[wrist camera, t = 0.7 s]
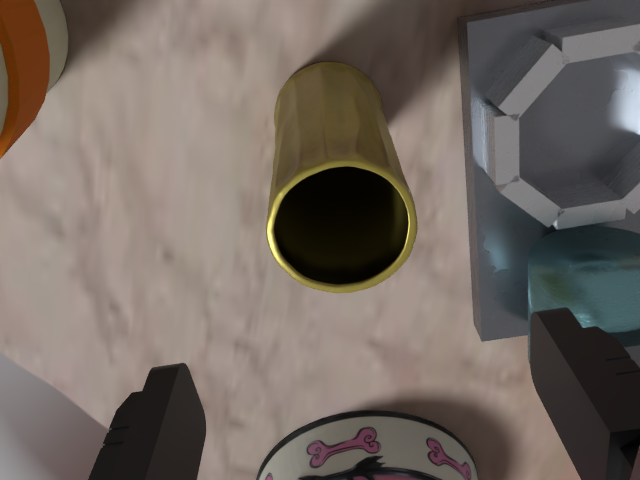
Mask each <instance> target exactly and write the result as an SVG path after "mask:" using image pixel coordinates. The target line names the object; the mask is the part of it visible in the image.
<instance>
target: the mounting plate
mask: <svg viewBox="0 0 640 480" xmlns="http://www.w3.org/2000/svg"><path fill="white" fill-rule="evenodd" d="M458 36H459V55H460V74H461V93H462V111H463V130H464V149H465V168H466V186H467V205H468V224H469V242H470V261H471V280H472V299H473V317H474V325H475V327H476V330H477V332H478V334H479V336H480V339H481V341H482V342H483V341H489V340H496V339H503V338H510V337H517V336H523V335H528V360H529V363H530V318H531V314H532V312H536V311H543V310H550V309H556V308H563V307H567V308H569V309H570V311H571V312H572V313H573V315H574V316H575V317H576V319H577V320H578V322H579V323H580V324H581V326H582V327H583V328H586V327H593V326H597V327H599V328H600V329H602V330H604V331H605V332H607V333H608V334H610V335H612V336H613V337H615V338H616V339H618V341H619V342H620V343H621V344H622V346H623V347H624V348H625V350H626V351H627V352H628V353H629V355H630V356H631V359H632V360H634V361H635V362H636V364H637V365H638V366H639V368H640V0H552V1H546V2H541V3H535V4H530V5H524V6H519V7H513V8H508V9H503V10H497V11H492V12H486V13H481V14H475V15H470V16H464V17H459V18H458Z"/></svg>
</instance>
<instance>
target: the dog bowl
mask: <svg viewBox="0 0 640 480" xmlns="http://www.w3.org/2000/svg"><path fill="white" fill-rule="evenodd" d="M256 480H478V474H477V469H476V466H475V462H474V459H473V457H472V456H471V454H470V452H469V451H468V449H467V448H466V447H465V445H464V444H463V443H462V442H461V441H460V440H459V439H458V438H457V437H456V436H455V435H454V434H452V433H451V432H450V431H448V430H447V429H445V428H444V427H442V426H440V425H438V424H436V423H434V422H431V421H428V420H426V419H423V418H420V417H417V416H413V415H409V414H404V413H398V412H390V411H357V412H350V413H344V414H339V415H334V416H330V417H327V418H324V419H321V420H318V421H316V422H313V423H311V424H308V425H306V426H304V427H302V428H300V429H298V430H297V431H295V432H293V433H292V434H290V435H289V436H287V437H286V438H285V439H283V440H282V441H281V442H280V443H279V444H278V445H276V447H275V448H273V450H272V451H271V452H270V453H269V454H268V456H267V457H266V458H265V460H264V462H263V463H262V465H261V467H260V469H259V472H258V475H257V478H256Z"/></svg>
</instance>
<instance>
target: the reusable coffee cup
mask: <svg viewBox="0 0 640 480" xmlns="http://www.w3.org/2000/svg"><path fill="white" fill-rule="evenodd" d="M67 54H68V30H67V23H66V17H65V14H64V12H63V9H62V6H61V3H60V0H0V159H1V158H2V157H3V155H4V154H5V153H6V152H7V151H8V150H9V149H10V147H11V146H12V145H13V144H14V143H15V142H16V141H17V139H18V138H19V137H20V136H21V135H22V134H23V133H24V131H25V130H26V129H27V128H28V127H29V126H30V125H31V123H32V122H33V121H34V120H35V118H36V116H37V114H38V112H39V110H40V108H41V106H42V104H43V103H44V100H45V96H46V93H47V92H48V91H49V90H50V89H51V88H52V87H53V85H54V84H55V83H56V82H57V80H58V79H59V77H60V75H61V73H62V71H63V69H64V66H65V62H66V58H67Z"/></svg>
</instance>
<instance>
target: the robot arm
mask: <svg viewBox="0 0 640 480" xmlns="http://www.w3.org/2000/svg"><path fill="white" fill-rule="evenodd" d="M530 368H531V375H532V379H533V383H534V386H535V389H536V391H537V393H538V395H539V397H540V399H541V401H542V403H543V405H544V407H545V409H546V411H547V413H548V415H549V417H550V419H551V421H552V423H553V425H554V427H555V429H556V431H557V433H558V435H559V437H560V439H561V441H562V443H563V445H564V447H565V449H566V451H567V452H568V454H569V456H570V458H571V460H572V462H573V464H574V466H575V468H576V470H577V472H578V474H579V476H580V478H581V480H640V368H639V366H638V365H637V364H636V362H635V361H634V360H632V359H631V356H630V355H629V353H628V352H627V351H626V350H625V348H624V347H623V346H622V344H621V343H620V342H619V341H618V339H616V338H615V337H613V336H612V335H610V334H608V333H607V332H605V331H604V330H602V329H600V328H599V327H597V326H593V327H586V328H583V327H582V326H581V324H580V323H579V322H578V320H577V319H576V317H575V316H574V315H573V313H572V312H571V311H570V309H569V308H567V307H563V308H556V309H550V310H543V311H536V312H532V314H531V318H530ZM205 437H206V420H205V414H204V410H203V407H202V404H201V401H200V399H199V396H198V393H197V390H196V388H195V385H194V382H193V379H192V377H191V374H190V371H189V369H188V367H187V365H186V364H185V363H180V364H173V365H166V366H159V367H153V368H152V369H151V370H150V372H149V374H148V377H147V380H146V382H145V385H144V388H143V391H140V392H133V393H131V394H130V395H129V397H128V398H127V399H126V400H125V401H124V402H123V404H122V405H121V406H120V407H119V408H118V409H117V410H116V413H115V415H114V418H113V420H112V423H111V425H110V428H109V433H107V435H106V437H105V440H104V442H103V448H101V450H100V452H99V454H98V457H97V459H96V462H95V464H94V467H93V469H92V471H91V474H90V476H89V479H88V480H197V475H198V471H199V466H200V461H201V456H202V451H203V447H204V442H205Z"/></svg>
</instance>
